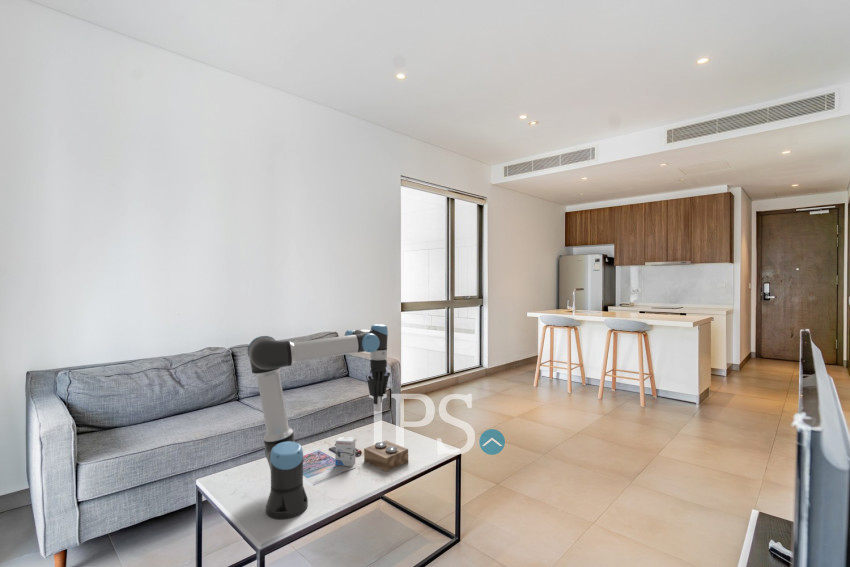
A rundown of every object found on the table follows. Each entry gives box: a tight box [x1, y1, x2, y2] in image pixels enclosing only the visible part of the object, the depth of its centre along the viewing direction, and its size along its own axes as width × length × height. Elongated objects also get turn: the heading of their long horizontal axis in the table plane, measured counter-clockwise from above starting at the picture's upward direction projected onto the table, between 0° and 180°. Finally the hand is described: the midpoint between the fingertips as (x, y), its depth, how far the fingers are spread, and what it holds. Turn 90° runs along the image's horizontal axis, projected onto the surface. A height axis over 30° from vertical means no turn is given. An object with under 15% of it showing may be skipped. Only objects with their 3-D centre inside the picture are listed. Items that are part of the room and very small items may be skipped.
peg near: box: [386, 446, 397, 454], centre depth 197 cm, size 5×5×7 cm
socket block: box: [363, 440, 409, 472], centre depth 200 cm, size 14×16×6 cm
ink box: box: [334, 436, 356, 467], centre depth 197 cm, size 9×5×12 cm, turn 84°
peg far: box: [374, 441, 386, 449], centre depth 203 cm, size 5×5×7 cm
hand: (377, 410), depth 190 cm, fingers closed
